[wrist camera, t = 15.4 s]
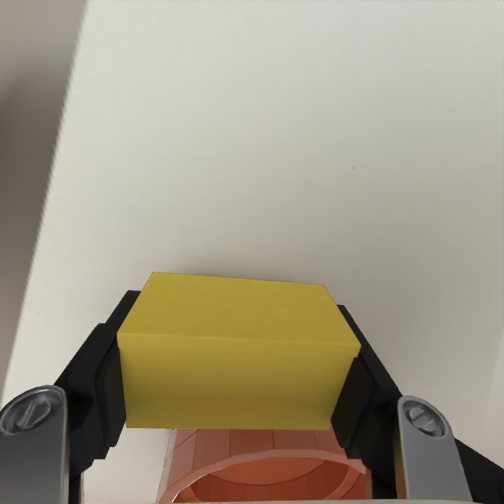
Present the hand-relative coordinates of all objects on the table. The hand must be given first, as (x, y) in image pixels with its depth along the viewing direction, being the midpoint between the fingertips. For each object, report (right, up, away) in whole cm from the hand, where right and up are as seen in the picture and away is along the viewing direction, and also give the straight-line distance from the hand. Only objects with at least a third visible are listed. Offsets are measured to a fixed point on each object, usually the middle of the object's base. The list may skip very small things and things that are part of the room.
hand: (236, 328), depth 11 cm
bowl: (+2, -13, +11) cm, 17 cm away
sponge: (0, 0, +1) cm, 1 cm away
